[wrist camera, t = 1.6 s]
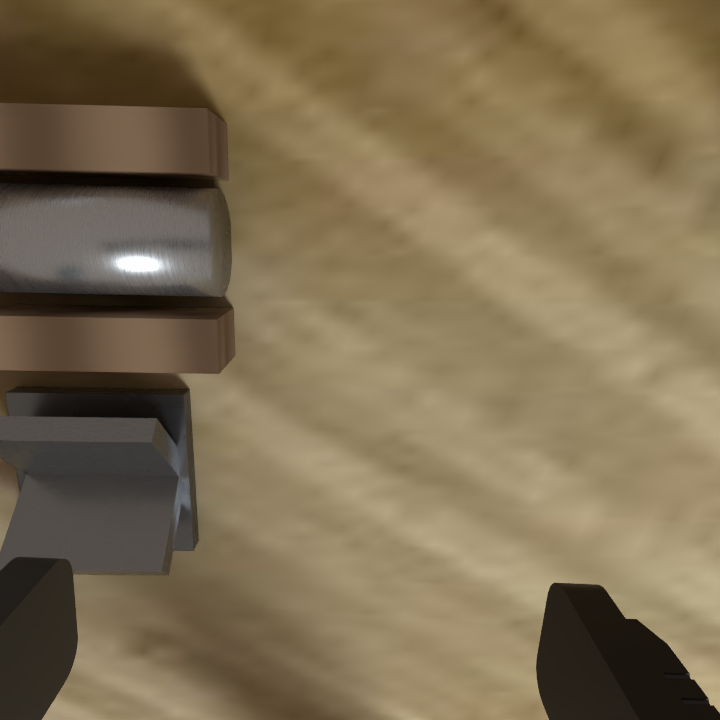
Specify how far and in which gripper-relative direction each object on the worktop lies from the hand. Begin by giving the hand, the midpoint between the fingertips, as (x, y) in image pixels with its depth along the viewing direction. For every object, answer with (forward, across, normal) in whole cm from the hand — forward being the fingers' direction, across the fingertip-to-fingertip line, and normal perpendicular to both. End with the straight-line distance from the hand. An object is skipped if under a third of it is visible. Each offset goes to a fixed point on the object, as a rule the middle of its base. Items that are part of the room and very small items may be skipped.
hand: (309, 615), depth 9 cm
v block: (+19, +12, +7) cm, 24 cm away
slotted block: (+19, +13, -5) cm, 24 cm away
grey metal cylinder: (+20, +12, -5) cm, 23 cm away
